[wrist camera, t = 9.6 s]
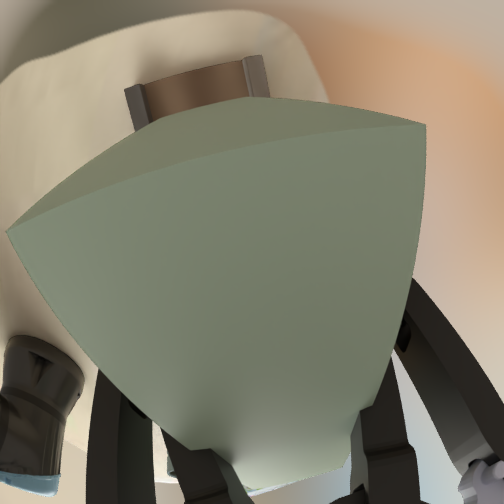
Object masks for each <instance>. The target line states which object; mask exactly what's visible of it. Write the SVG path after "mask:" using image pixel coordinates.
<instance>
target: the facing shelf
mask: <svg viewBox="0 0 504 504" xmlns="http://www.w3.org/2000/svg"><path fill="white" fill-rule="evenodd" d="M124 92H125V96H126V99H127V103H128V107H129V111H130V115H131V118H132V122H133V125H134V129H135V132H136V131H138V130H140V129H141V128H143V127H145V126H147V125H149V124H150V123H152V122H154V121H156V120H158V119H159V118H162V117H165V116H169V115H172V114H175V113H179V112H182V111H186V110H190V109H194V108H197V107H201V106H205V105H210V104H214V103H218V102H223V101H227V100H232V99H237V98H242V97H266V98H270V93H269V88H268V83H267V78H266V73H265V68H264V63H263V58H262V55H257V56H250V57H245V58H244V59H243V60H241V61H235V62H229V63H224V64H219V65H214V66H210V67H205V68H201V69H197V70H193V71H189V72H185V73H181V74H178V75H174V76H171V77H167V78H164V79H161V80H157V81H154V82H151V83H148V84H145V85H142V84H137V85H134V86H132V87H129V88H126V89H124Z"/></svg>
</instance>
